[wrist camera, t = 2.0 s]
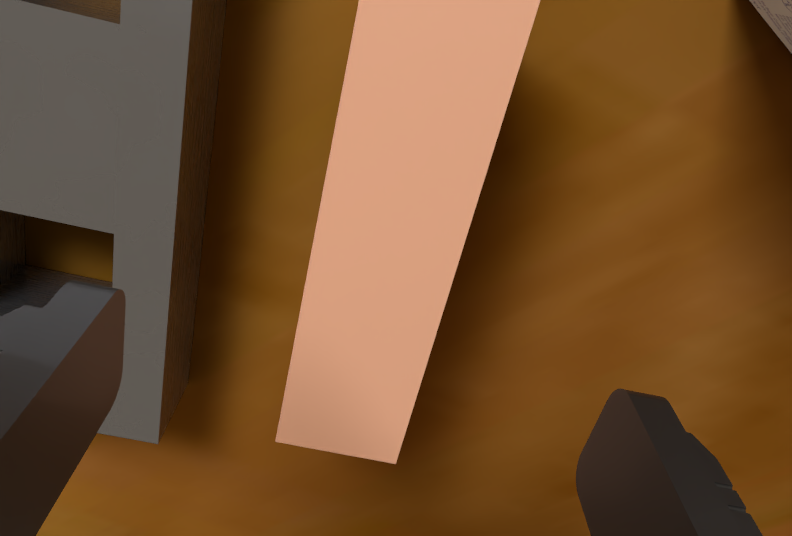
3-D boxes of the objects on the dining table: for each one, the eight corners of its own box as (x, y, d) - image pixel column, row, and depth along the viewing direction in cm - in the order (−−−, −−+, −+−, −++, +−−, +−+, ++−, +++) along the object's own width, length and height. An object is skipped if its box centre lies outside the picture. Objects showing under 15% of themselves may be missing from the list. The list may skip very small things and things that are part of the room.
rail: (257, -311, 16) (220, -371, 13) (188, 382, 26) (158, 443, 23) (-78, -408, 15) (-203, -496, 12) (-17, 343, 25) (-76, 401, 22)
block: (509, -55, 18) (555, -50, 13) (398, 340, 25) (395, 463, 19) (387, -87, 18) (377, -97, 12) (306, 322, 24) (275, 441, 19)
